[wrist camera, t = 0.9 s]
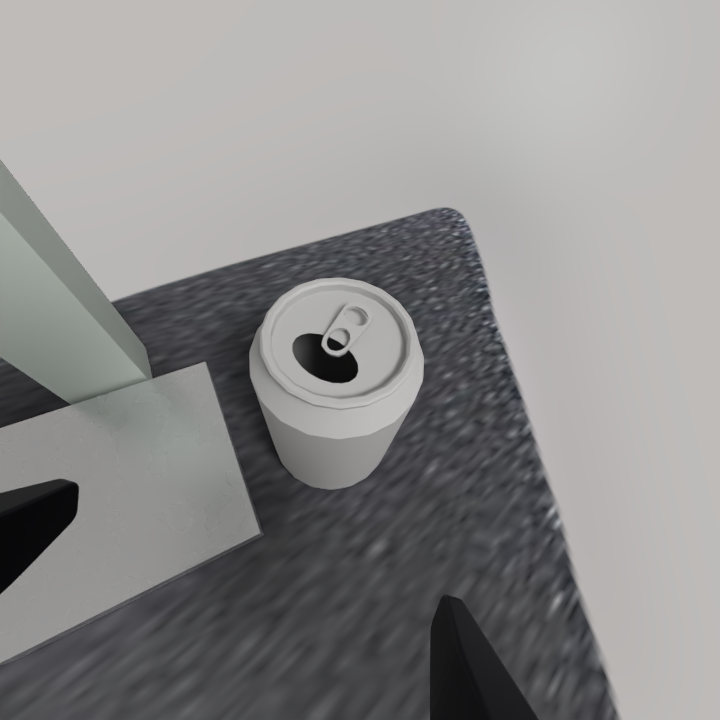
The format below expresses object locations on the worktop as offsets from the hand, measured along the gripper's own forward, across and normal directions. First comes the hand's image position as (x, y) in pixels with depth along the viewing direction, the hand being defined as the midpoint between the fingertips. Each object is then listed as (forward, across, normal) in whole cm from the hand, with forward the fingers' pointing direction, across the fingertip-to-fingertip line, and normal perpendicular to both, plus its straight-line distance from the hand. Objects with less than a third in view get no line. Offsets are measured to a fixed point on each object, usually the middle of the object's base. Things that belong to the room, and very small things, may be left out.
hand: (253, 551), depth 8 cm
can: (+15, 0, +4) cm, 16 cm away
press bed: (+10, +10, +8) cm, 17 cm away
